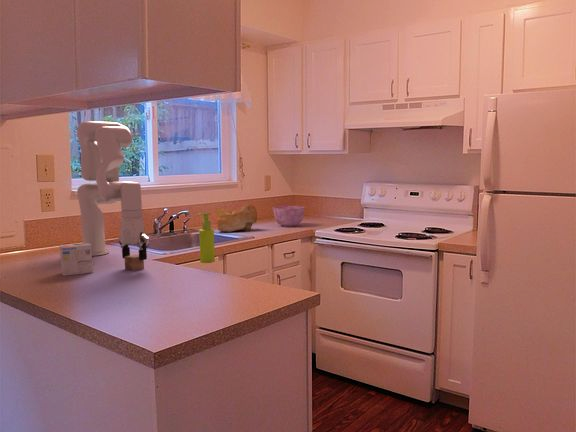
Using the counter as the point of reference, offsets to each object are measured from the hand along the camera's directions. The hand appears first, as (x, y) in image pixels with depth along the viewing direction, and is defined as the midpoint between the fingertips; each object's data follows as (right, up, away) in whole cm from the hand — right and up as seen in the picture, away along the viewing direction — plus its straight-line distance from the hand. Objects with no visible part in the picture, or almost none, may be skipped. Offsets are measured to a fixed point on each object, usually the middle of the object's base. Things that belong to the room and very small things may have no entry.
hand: (134, 258), depth 199 cm
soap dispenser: (+26, -2, +12) cm, 28 cm away
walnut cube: (0, -4, +1) cm, 4 cm away
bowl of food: (+60, +10, +120) cm, 135 cm away
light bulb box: (-20, -5, -5) cm, 21 cm away
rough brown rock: (+29, +8, +104) cm, 108 cm away
